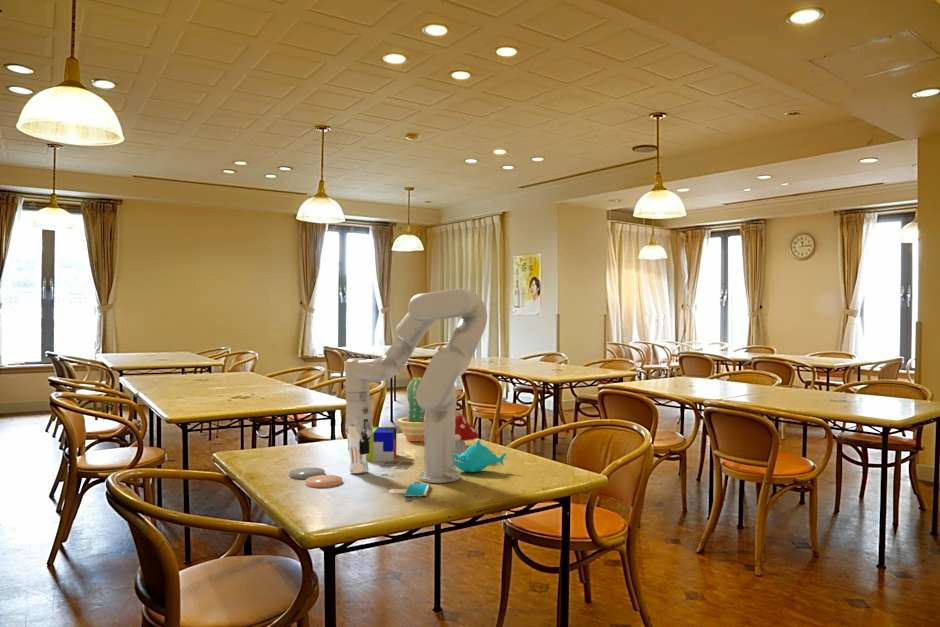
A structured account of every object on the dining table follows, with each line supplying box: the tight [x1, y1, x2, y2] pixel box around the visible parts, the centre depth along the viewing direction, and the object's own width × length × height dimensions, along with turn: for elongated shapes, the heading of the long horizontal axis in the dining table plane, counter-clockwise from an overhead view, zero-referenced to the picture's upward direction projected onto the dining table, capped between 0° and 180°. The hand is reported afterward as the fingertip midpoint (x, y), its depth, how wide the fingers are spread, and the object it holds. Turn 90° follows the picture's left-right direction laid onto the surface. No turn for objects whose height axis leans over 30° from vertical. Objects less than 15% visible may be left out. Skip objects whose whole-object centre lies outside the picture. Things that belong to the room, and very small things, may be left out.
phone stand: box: [388, 481, 432, 502], centre depth 192 cm, size 20×12×2 cm, turn 177°
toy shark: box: [455, 438, 507, 473], centre depth 215 cm, size 10×18×11 cm, turn 91°
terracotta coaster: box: [304, 474, 343, 489], centre depth 201 cm, size 11×11×1 cm
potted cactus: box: [397, 376, 425, 442], centre depth 267 cm, size 15×15×25 cm
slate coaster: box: [288, 467, 326, 480], centre depth 210 cm, size 11×11×1 cm
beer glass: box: [346, 425, 370, 474], centre depth 213 cm, size 7×7×15 cm
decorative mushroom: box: [455, 414, 480, 455], centre depth 237 cm, size 14×14×15 cm
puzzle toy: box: [367, 426, 397, 462], centre depth 235 cm, size 10×10×10 cm
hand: (358, 451), depth 213 cm, fingers closed on beer glass, 6 cm apart
